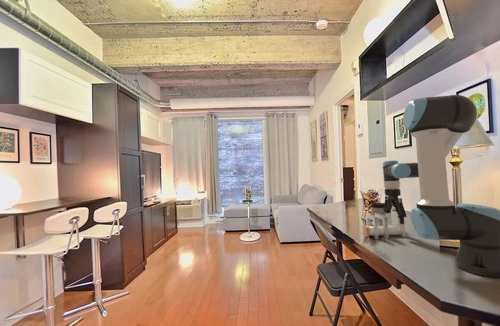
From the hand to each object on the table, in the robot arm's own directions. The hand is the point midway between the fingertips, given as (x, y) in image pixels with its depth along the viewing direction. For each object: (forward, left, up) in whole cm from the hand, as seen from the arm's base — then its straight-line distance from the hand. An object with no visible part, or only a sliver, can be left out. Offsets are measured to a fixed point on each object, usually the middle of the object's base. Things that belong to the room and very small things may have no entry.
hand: (395, 227), depth 131 cm
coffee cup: (+18, +1, -5) cm, 18 cm away
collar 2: (+1, +7, -5) cm, 8 cm away
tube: (+1, +6, -5) cm, 8 cm away
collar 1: (+1, +12, -5) cm, 13 cm away
